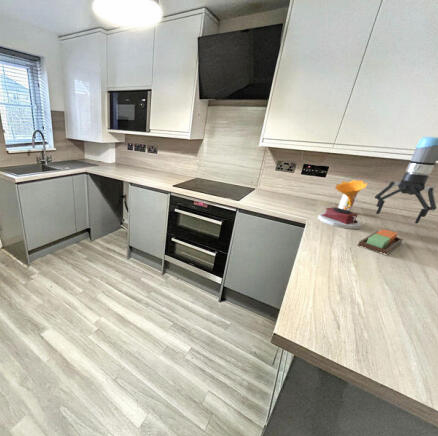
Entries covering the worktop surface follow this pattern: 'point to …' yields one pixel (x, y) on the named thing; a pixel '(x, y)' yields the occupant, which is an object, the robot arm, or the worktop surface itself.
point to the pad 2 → (388, 234)
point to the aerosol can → (346, 202)
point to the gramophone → (344, 216)
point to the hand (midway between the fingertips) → (396, 217)
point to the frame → (383, 250)
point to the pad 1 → (378, 240)
